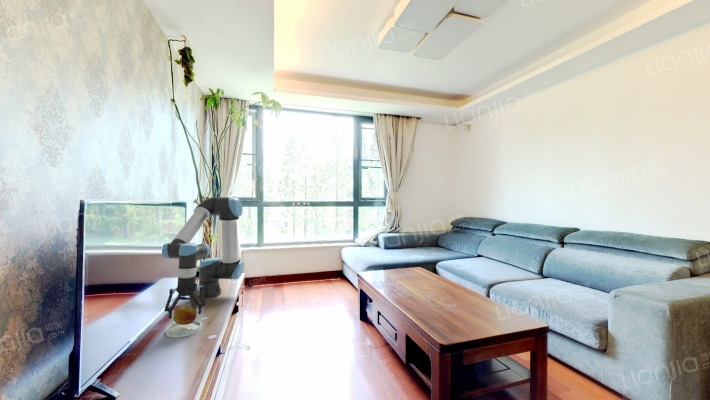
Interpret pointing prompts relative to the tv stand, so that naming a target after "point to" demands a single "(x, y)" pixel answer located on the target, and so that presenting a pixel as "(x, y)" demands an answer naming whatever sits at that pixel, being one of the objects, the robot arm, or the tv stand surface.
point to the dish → (183, 329)
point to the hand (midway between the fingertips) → (184, 323)
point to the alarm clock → (196, 296)
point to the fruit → (185, 315)
